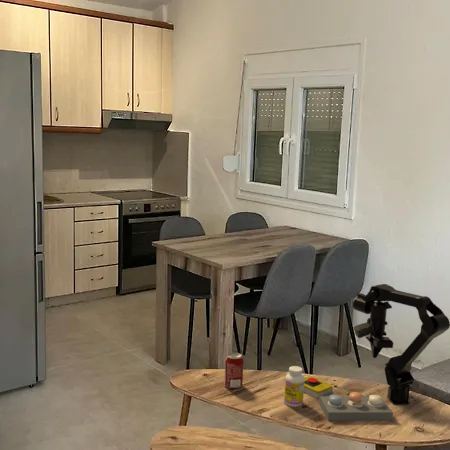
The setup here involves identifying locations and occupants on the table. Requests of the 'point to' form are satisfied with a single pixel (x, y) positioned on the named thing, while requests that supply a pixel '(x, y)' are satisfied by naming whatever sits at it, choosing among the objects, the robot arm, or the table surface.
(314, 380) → the emergency button
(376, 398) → the cream button
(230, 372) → the soda can
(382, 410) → the console
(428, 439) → the table surface
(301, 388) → the supplement bottle
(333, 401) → the slate button
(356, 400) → the terracotta button
